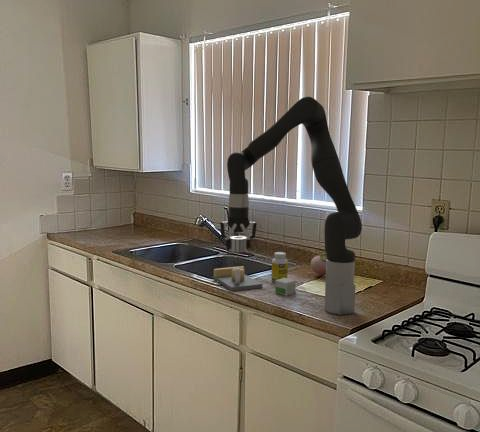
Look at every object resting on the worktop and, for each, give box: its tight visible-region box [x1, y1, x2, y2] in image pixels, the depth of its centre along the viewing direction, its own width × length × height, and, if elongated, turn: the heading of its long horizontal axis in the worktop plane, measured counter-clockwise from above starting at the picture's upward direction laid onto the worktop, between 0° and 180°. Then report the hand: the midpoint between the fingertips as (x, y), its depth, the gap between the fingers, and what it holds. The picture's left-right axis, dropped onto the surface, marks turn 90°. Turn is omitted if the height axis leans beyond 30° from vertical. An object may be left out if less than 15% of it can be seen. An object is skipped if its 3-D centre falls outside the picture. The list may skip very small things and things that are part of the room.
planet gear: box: [229, 235, 248, 253], centre depth 188 cm, size 6×6×5 cm
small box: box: [274, 277, 297, 296], centre depth 185 cm, size 6×6×5 cm
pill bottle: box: [271, 251, 289, 283], centre depth 200 cm, size 6×6×12 cm
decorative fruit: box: [310, 253, 327, 277], centre depth 209 cm, size 9×8×10 cm
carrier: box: [213, 265, 263, 292], centre depth 196 cm, size 18×13×8 cm
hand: (238, 248), depth 188 cm, fingers closed on planet gear, 6 cm apart
